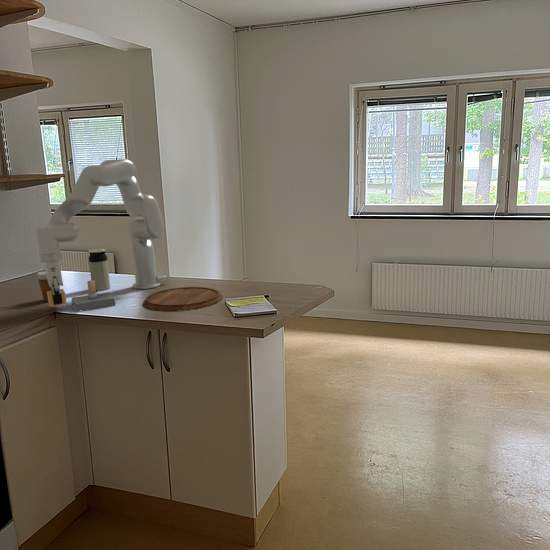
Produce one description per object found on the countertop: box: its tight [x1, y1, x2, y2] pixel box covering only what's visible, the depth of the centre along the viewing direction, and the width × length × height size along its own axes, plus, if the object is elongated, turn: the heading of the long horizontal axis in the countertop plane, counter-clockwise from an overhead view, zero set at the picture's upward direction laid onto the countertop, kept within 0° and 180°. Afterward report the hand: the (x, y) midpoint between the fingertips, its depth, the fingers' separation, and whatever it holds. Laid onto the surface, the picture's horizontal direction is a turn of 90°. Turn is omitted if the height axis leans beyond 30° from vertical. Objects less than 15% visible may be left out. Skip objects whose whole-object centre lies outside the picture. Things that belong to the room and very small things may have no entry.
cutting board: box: [143, 286, 223, 312], centre depth 220 cm, size 32×32×2 cm
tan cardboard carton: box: [47, 288, 67, 308], centre depth 212 cm, size 6×6×5 cm
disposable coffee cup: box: [36, 270, 61, 302], centre depth 229 cm, size 10×10×12 cm
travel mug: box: [88, 248, 111, 291], centre depth 245 cm, size 8×8×18 cm
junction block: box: [71, 279, 116, 312], centre depth 217 cm, size 15×12×10 cm
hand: (57, 301), depth 212 cm, fingers closed on tan cardboard carton, 6 cm apart
